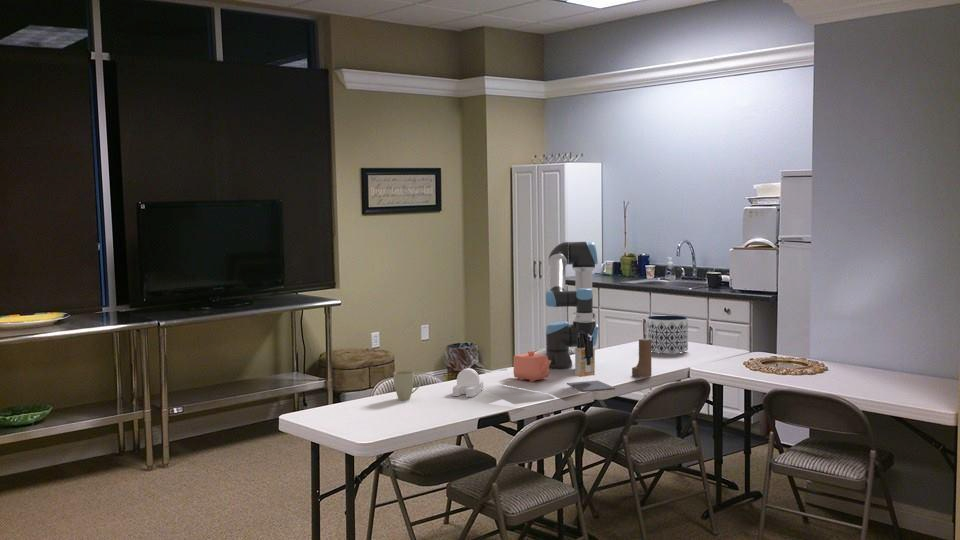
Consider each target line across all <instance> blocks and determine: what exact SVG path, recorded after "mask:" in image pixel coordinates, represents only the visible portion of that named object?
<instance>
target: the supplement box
mask: <svg viewBox="0 0 960 540" xmlns="http://www.w3.org/2000/svg"><path fill="white" fill-rule="evenodd" d="M574 348H575V349H574V357H575V358H574V362H575V363H574V369H575V370H574V374H575V376H576V377H582V378H583V377H590V376H595V375H596V373H595V372H596V371H595V370H596V368H595V366H596V365H595V364H596V363H595V358H596V357H595V356H596V353H595V352H596V351H595V350H596V349H595V347H593V357H591V372H585V358H584V357H586V356H585V348H577V347H574Z"/></svg>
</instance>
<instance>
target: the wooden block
mask: <svg viewBox="0 0 960 540" xmlns="http://www.w3.org/2000/svg"><path fill="white" fill-rule="evenodd" d="M650 376H652V352H651V340H650V339H647V338H641V339H638V363H637V364H636V366H633V367H632V368H631V377H634V378H644V377H645V378H646V377H650Z"/></svg>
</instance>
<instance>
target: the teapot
mask: <svg viewBox="0 0 960 540" xmlns="http://www.w3.org/2000/svg"><path fill="white" fill-rule="evenodd" d="M550 363H551V360H548V357H547V356H546V354H538V353H535V351H532V350H529V351H527V353H521V354H515V355H513V376H514V378H517V379H519V381H524V380H529V383H536V381H538V380H539V381H542V380H544V379H545V378H549V375H550V369H549V365H550Z"/></svg>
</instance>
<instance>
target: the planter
mask: <svg viewBox="0 0 960 540" xmlns="http://www.w3.org/2000/svg"><path fill="white" fill-rule="evenodd" d="M688 319H689V317H687V316H683V315H673V314H672V315H671V314H669V315H668V314H664V315H662V314H661V315H659V314H658V315H650V316H647V319H646V321H647V324H646V325H647V326H646V329H647V331H646V332H647V335H646V339H650V340H651V351H653V352H659V353H680V352H685V351H687V350H688V351H689V341H688V340H689V327H688V325H689V320H688ZM653 352H652V353H653ZM659 353H658V354H659Z"/></svg>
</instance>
